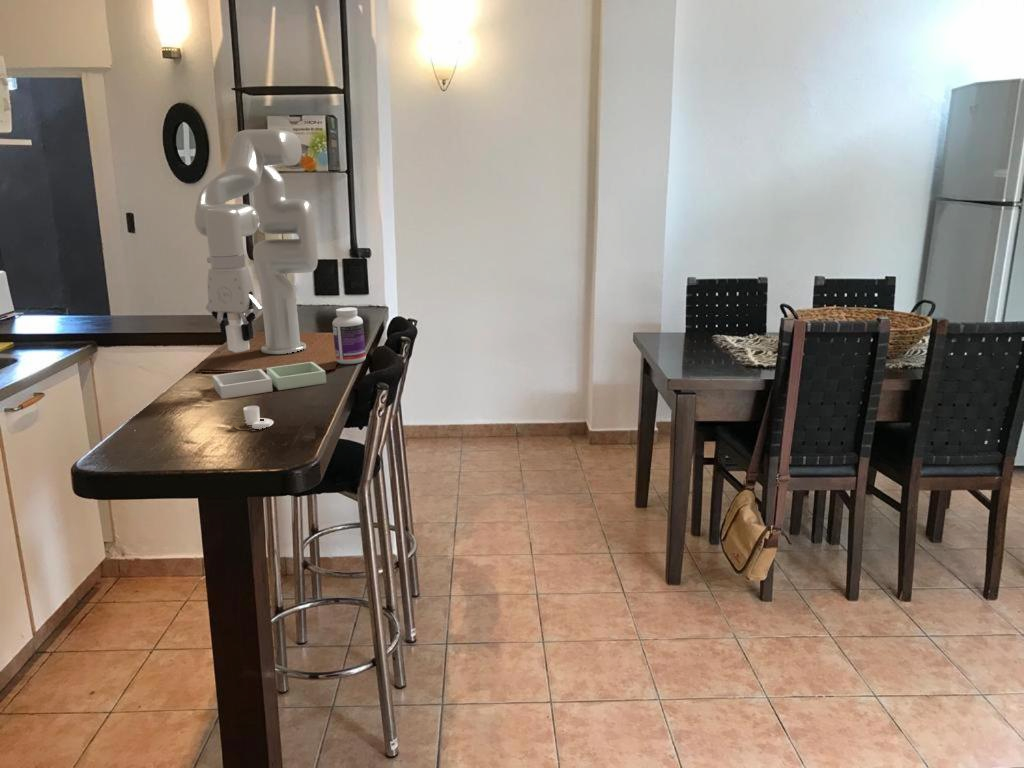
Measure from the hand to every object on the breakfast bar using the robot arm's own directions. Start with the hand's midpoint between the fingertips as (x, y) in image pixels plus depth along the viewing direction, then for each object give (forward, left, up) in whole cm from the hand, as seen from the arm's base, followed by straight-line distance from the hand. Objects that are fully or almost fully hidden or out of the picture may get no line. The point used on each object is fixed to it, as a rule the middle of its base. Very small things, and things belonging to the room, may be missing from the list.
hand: (237, 338), depth 192 cm
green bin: (+1, +13, -12) cm, 18 cm away
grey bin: (+1, 0, -12) cm, 12 cm away
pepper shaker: (0, 0, -3) cm, 3 cm away
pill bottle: (-11, +30, -13) cm, 35 cm away
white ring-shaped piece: (+32, -6, -13) cm, 35 cm away
